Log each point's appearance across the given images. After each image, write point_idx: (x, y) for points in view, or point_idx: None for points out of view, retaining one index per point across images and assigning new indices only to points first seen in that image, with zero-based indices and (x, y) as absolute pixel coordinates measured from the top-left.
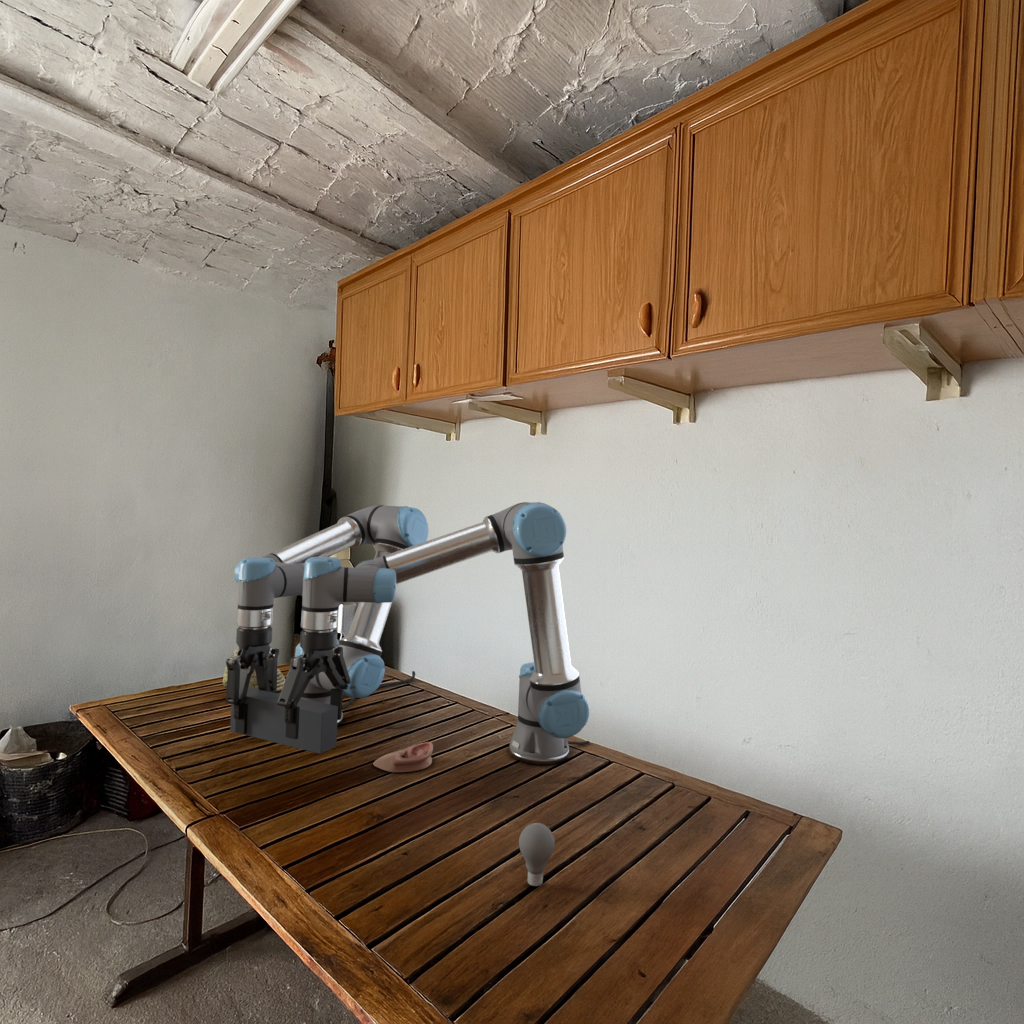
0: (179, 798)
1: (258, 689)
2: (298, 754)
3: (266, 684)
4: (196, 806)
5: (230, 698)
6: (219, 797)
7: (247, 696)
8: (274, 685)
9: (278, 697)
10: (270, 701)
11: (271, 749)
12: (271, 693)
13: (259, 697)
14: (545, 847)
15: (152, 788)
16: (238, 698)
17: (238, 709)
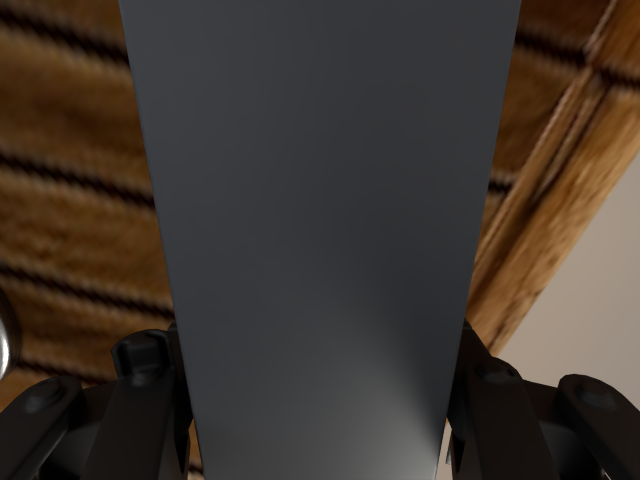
0: (534, 246)
1: (209, 471)
2: (128, 176)
3: (137, 475)
4: (563, 167)
5: (602, 472)
6: (494, 154)
7: (446, 410)
8: (25, 428)
9: (289, 62)
10: (510, 21)
11: (161, 277)
12: (215, 286)
13: (418, 292)
14: None
15: (506, 342)
16: (587, 419)
17: (483, 350)
